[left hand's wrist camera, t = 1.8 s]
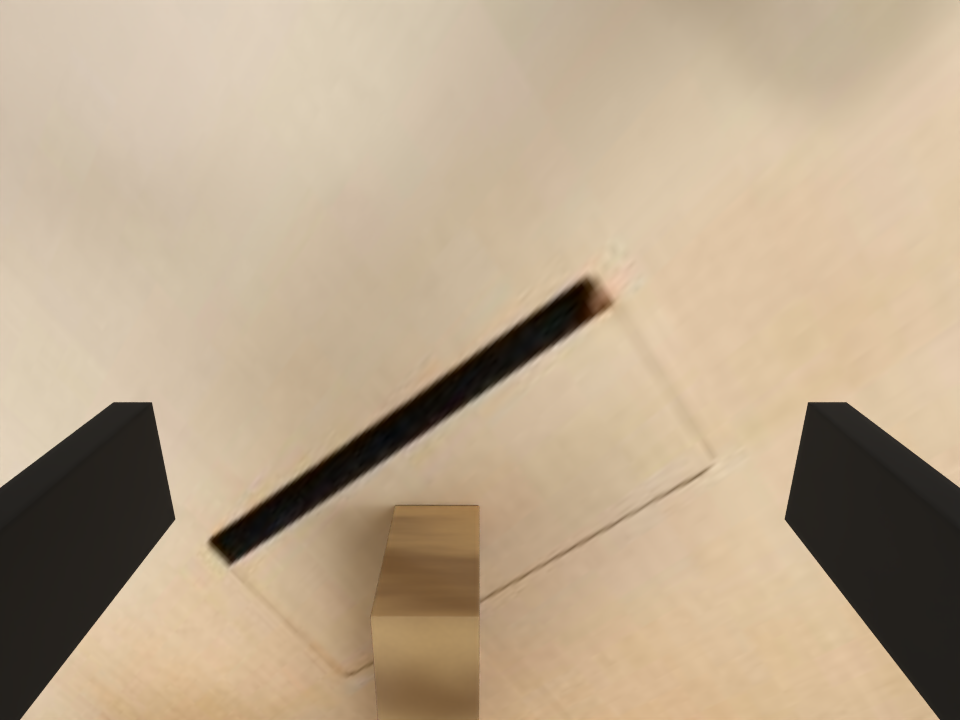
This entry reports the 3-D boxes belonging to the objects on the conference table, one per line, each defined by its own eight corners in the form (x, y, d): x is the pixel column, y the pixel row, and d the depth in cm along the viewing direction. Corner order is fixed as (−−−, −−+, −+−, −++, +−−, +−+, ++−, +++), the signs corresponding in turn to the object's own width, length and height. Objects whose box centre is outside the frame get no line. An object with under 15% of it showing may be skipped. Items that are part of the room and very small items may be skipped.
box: (394, 505, 43) (370, 616, 33) (479, 505, 43) (479, 616, 33) (406, 738, 50) (389, 885, 41) (478, 738, 50) (477, 885, 41)
